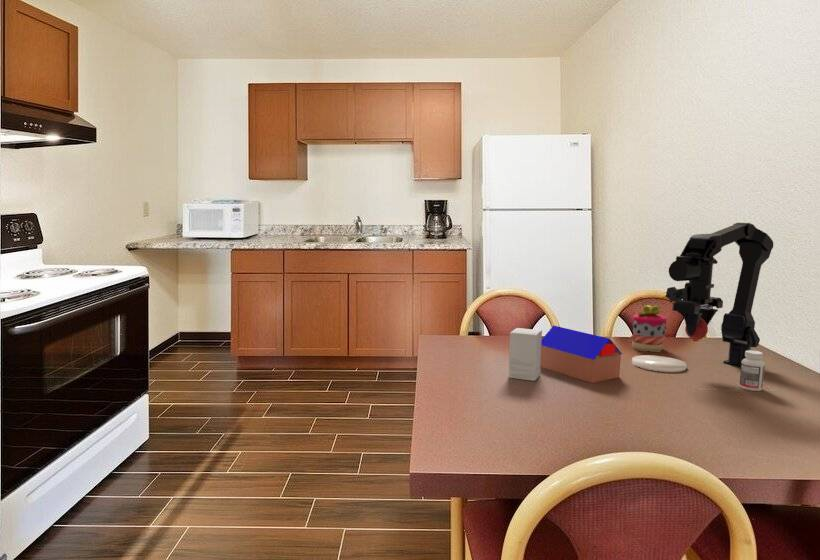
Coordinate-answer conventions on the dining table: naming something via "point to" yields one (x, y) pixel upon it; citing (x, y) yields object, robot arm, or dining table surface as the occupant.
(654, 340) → the cake
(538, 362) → the supplement box
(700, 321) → the onion
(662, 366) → the plate
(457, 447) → the dining table surface
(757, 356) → the pill bottle
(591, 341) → the house
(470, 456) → the dining table surface
